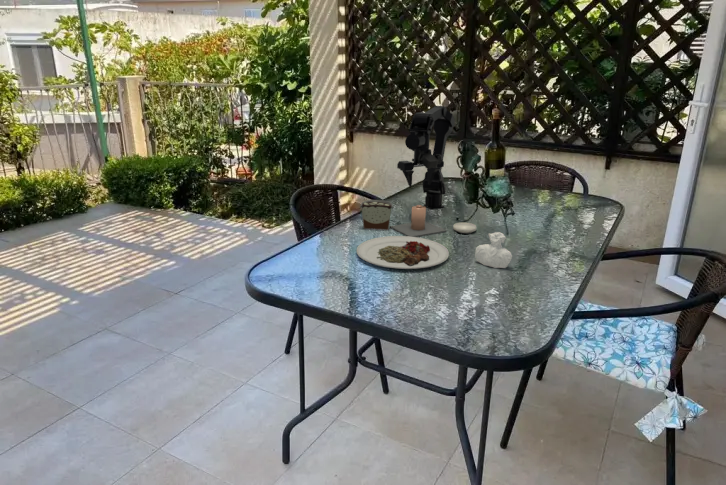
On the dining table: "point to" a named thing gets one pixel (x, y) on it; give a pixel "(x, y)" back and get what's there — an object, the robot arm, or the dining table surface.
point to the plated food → (402, 252)
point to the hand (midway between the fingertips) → (419, 185)
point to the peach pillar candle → (418, 217)
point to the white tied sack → (494, 252)
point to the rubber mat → (407, 230)
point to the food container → (376, 214)
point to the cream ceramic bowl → (464, 227)
